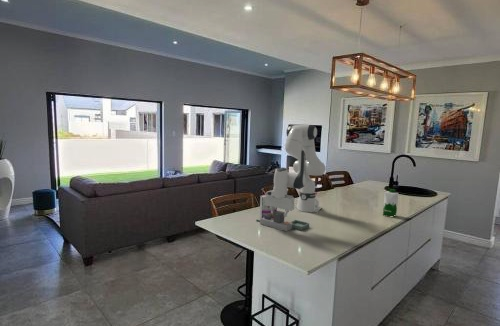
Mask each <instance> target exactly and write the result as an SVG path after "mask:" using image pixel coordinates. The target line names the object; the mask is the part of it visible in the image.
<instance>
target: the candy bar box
mask: <svg viewBox="0 0 500 326" xmlns="http://www.w3.org/2000/svg"><path fill="white" fill-rule="evenodd" d="M265 197H266V194H262V195H260V199H259V200H260V201H259V205H260V206H259V220H260V219H261V218H264V216H265V215H270V216H271V218H274V213H273V214H272V213H271V210H270V206H267V205H265ZM273 210H274V212H276V211H278V208H275V207H273Z"/></svg>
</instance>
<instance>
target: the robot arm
mask: <svg viewBox="0 0 500 326" xmlns="http://www.w3.org/2000/svg"><path fill="white" fill-rule="evenodd" d="M317 135H318V129H317V127H316V126H315V125H314V124H292V125H291V124H290V125H289V126H288V127H287V128H286V136H287V138H286V139H285V140H286V141H285V145H284V150H285V152H286V153H287V154H288V155H289V156H291V157H293V158H294V159H296V160H295V161H294V162H293V164H292V166H293V167H292V169H293V171H294V172H290V171H288V168H286V167H277V168H275V171H274V175H273V189H272V190H271V189H270V190H269V191H266V192H265V195H266V197H265V205H267V206H270V210H271V213H272V214H273V213H274V210H273V207H275V208H277V209H280V210H285V211H284V212H285V213H284V218H285V217H288V213H289V212H290V211H291V212H292V211H294V210H295V208H296V209H297V210H298V211H300V212H306V213H318V212H319V211H320V210H322V206H320V201H319V200H318V198H317V197H316V195H317V194H318V192H316V183H315V181H314V180H313V179H311V177H310V176H316V177H317V176H323V175H324V174H325V172H326V165H325V163H324V162H322V161H321V160H320V159H319V157H318V155H317V153H316V147H315V146H316V145H315V139H316V138H317ZM288 188H292V189H297V190H299V197H298V198H297V204H296V206H295V197H294V195H289V194H288Z"/></svg>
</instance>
